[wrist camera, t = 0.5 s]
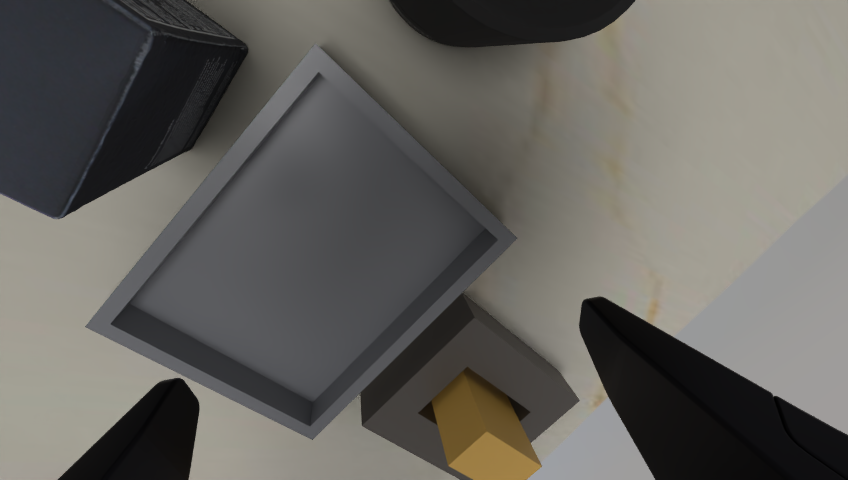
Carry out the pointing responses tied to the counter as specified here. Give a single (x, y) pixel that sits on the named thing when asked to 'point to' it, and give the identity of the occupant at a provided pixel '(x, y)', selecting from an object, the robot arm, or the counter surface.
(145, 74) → the small box
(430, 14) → the pen holder
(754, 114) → the counter surface
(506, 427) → the block
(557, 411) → the gray square frame
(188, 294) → the parts tray
